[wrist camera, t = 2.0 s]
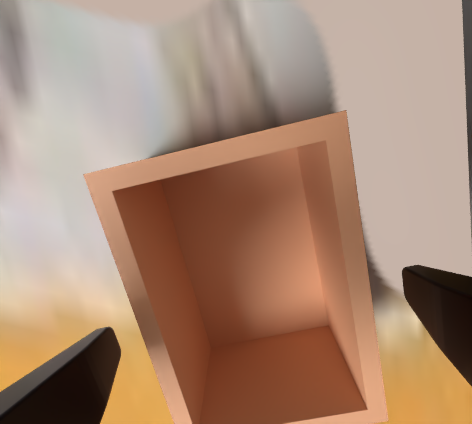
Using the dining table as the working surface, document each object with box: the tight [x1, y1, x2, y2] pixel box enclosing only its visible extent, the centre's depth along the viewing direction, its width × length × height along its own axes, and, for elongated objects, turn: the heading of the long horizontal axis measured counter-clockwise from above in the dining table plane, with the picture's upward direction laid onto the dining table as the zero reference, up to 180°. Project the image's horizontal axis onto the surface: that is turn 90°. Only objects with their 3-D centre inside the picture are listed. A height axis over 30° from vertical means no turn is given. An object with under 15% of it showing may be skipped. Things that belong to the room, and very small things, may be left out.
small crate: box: [83, 110, 388, 424], centre depth 11 cm, size 10×7×5 cm
